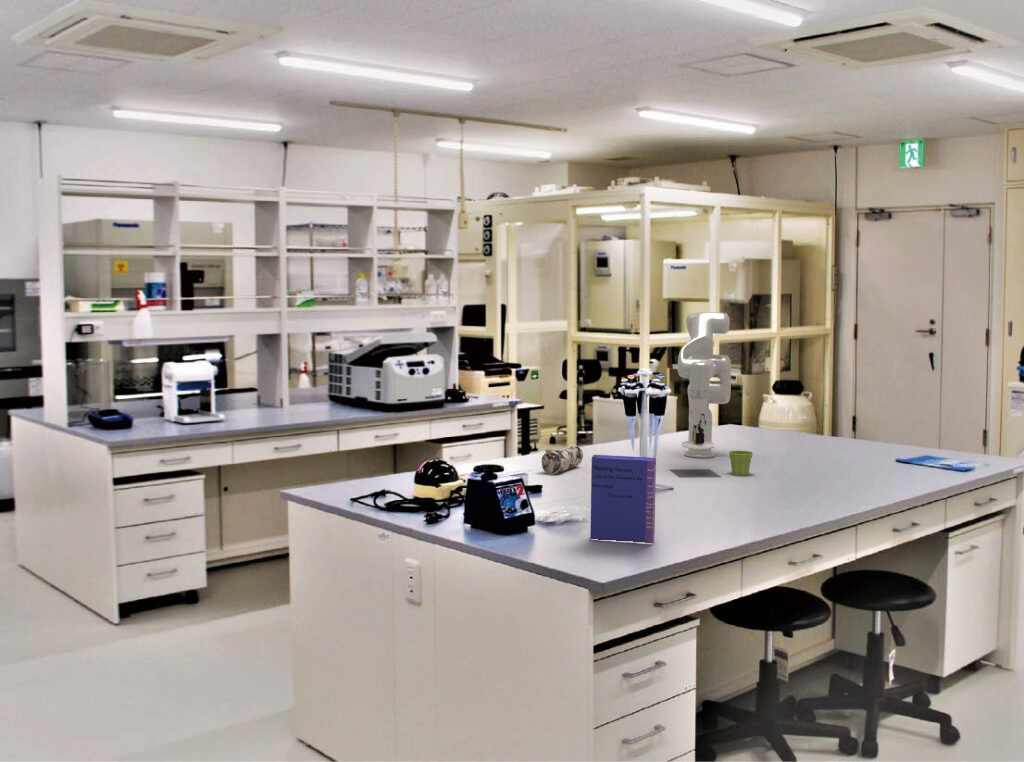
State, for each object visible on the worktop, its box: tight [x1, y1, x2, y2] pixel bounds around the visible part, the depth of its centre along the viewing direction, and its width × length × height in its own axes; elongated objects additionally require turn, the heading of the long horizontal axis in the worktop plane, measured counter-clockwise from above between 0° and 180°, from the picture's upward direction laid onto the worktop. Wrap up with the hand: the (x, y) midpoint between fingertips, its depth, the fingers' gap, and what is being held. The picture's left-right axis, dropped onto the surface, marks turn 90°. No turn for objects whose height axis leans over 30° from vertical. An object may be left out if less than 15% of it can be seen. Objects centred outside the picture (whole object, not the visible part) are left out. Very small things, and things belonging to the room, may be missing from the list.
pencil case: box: [541, 443, 584, 476], centre depth 394 cm, size 22×8×10 cm, turn 152°
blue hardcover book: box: [589, 454, 657, 544], centre depth 288 cm, size 17×5×24 cm, turn 75°
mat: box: [668, 468, 722, 479], centre depth 388 cm, size 16×16×1 cm
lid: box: [681, 427, 715, 450], centre depth 388 cm, size 12×12×7 cm
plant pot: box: [727, 449, 754, 476], centre depth 388 cm, size 9×9×9 cm
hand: (698, 441), depth 388 cm, fingers closed on lid, 3 cm apart
